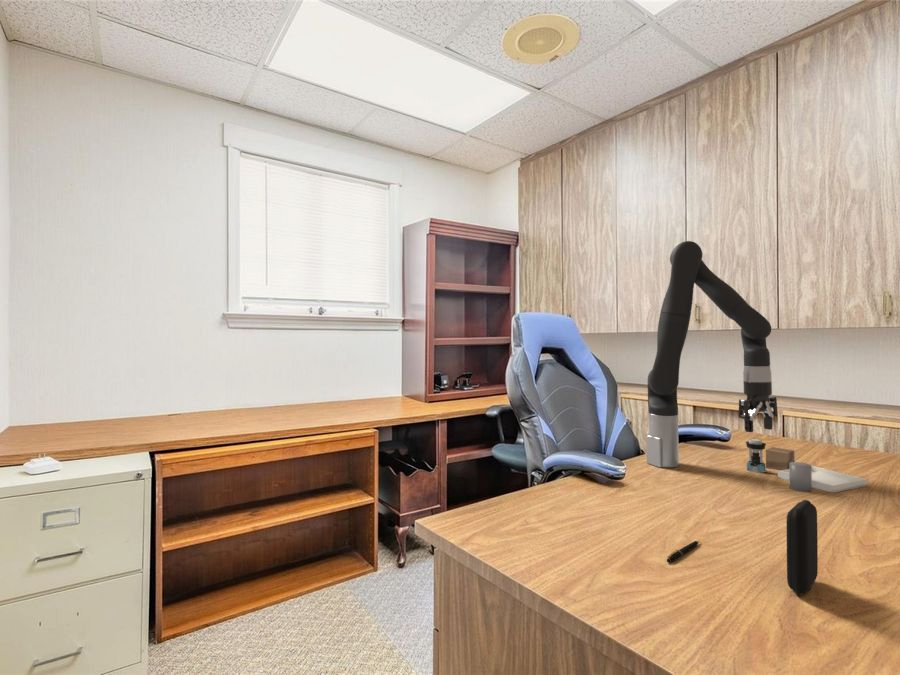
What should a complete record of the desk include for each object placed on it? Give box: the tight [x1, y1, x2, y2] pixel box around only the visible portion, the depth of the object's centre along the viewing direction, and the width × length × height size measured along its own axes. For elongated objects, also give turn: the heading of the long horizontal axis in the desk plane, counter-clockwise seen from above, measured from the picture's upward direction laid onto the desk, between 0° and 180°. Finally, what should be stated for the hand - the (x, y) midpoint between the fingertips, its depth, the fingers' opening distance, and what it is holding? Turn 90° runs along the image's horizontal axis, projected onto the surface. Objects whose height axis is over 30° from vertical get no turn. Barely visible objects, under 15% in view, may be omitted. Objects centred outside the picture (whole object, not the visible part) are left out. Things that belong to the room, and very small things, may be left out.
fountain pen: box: [666, 539, 700, 563], centre depth 95 cm, size 14×1×2 cm, turn 128°
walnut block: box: [765, 446, 796, 471], centre depth 152 cm, size 6×6×6 cm
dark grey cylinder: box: [789, 461, 813, 493], centre depth 131 cm, size 5×5×7 cm
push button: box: [745, 438, 772, 474], centre depth 148 cm, size 7×5×10 cm
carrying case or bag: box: [786, 499, 819, 596], centre depth 82 cm, size 11×3×15 cm, turn 131°
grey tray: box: [777, 465, 868, 494], centre depth 137 cm, size 15×15×2 cm
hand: (758, 430), depth 148 cm, fingers open, 8 cm apart
